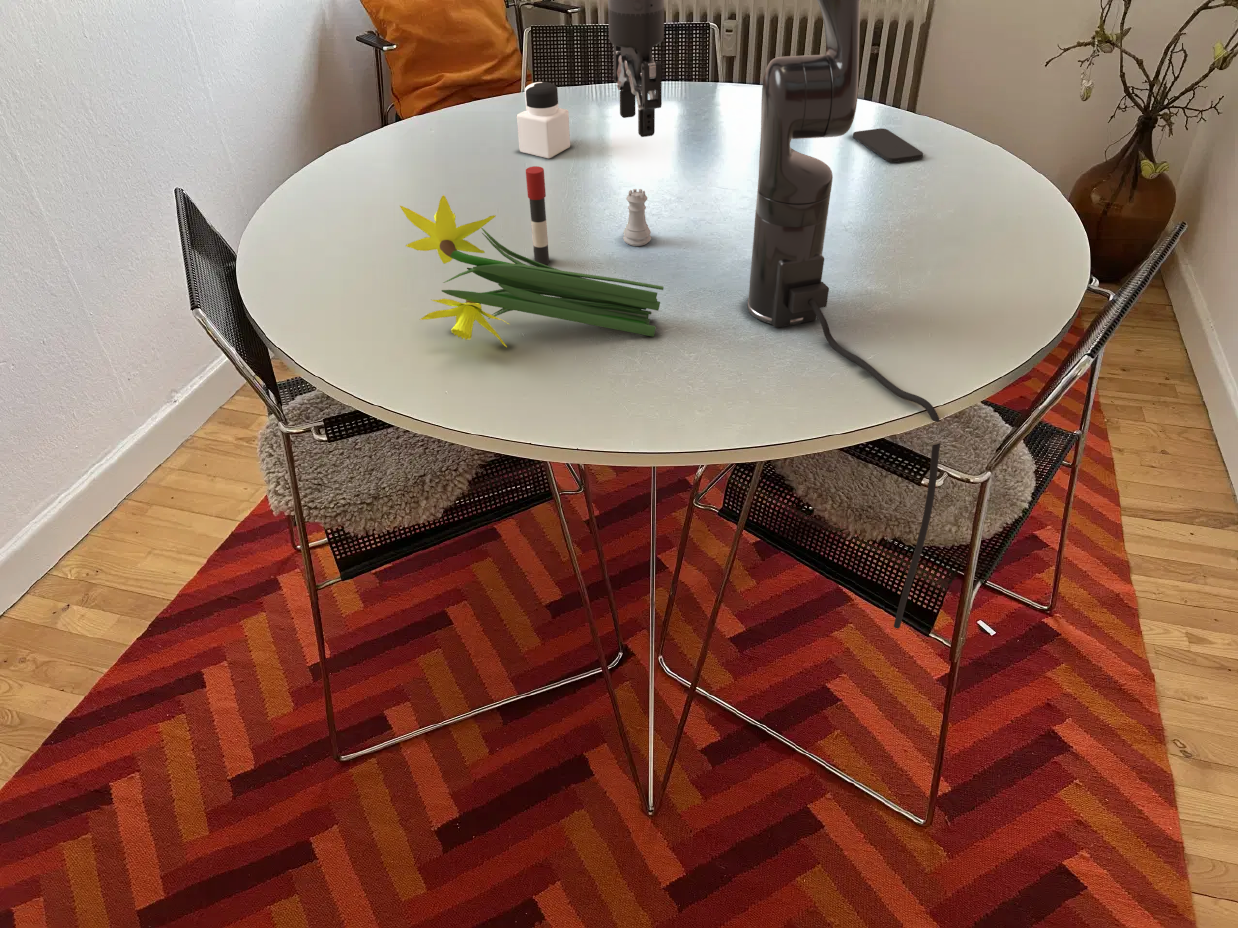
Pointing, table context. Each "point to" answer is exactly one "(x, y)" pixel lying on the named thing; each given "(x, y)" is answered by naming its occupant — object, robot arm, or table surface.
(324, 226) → the table surface
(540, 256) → the marker
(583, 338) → the table surface
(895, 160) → the phone
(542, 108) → the medicine bottle
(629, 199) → the rook chess piece
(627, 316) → the daffodil flowers
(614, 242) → the table surface
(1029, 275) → the table surface
